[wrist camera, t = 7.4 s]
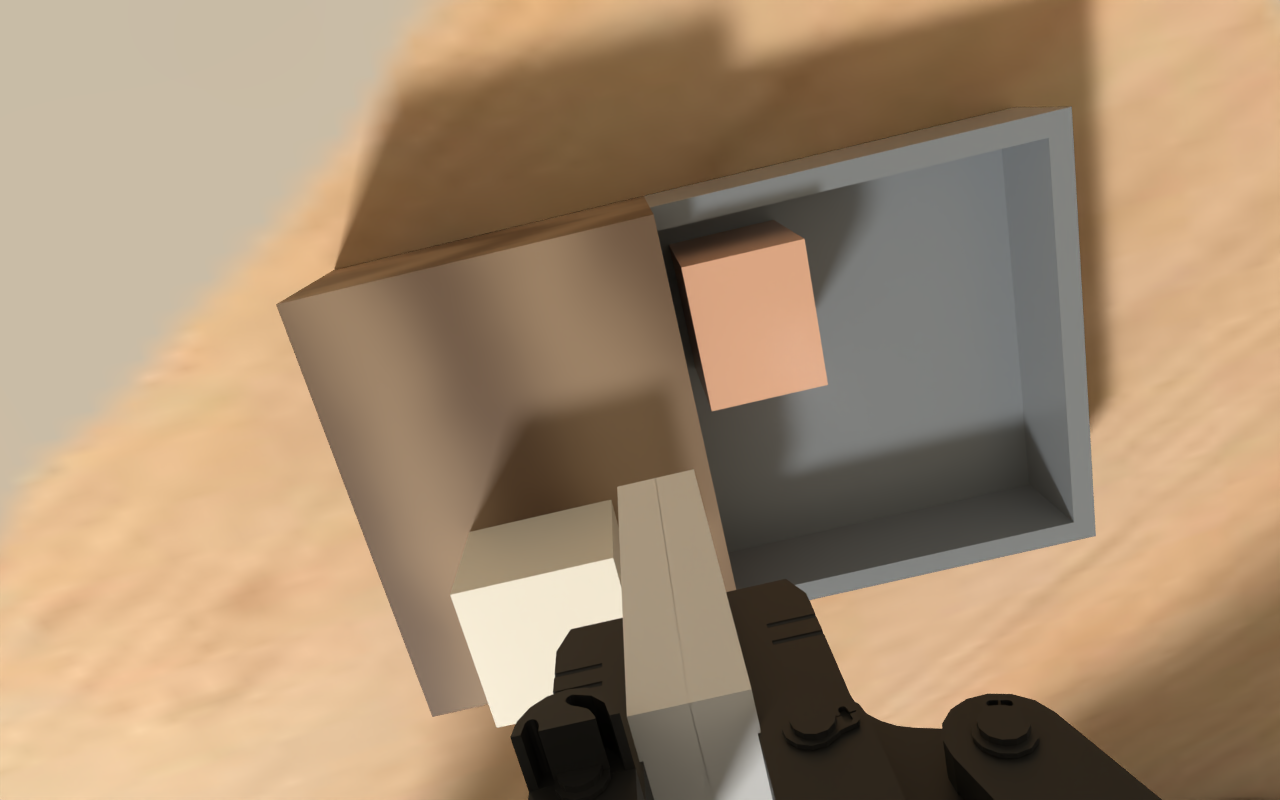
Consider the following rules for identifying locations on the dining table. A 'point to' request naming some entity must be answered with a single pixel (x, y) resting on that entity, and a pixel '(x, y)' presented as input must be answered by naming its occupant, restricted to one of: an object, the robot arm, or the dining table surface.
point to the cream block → (534, 598)
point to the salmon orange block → (750, 313)
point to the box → (910, 357)
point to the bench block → (496, 400)
